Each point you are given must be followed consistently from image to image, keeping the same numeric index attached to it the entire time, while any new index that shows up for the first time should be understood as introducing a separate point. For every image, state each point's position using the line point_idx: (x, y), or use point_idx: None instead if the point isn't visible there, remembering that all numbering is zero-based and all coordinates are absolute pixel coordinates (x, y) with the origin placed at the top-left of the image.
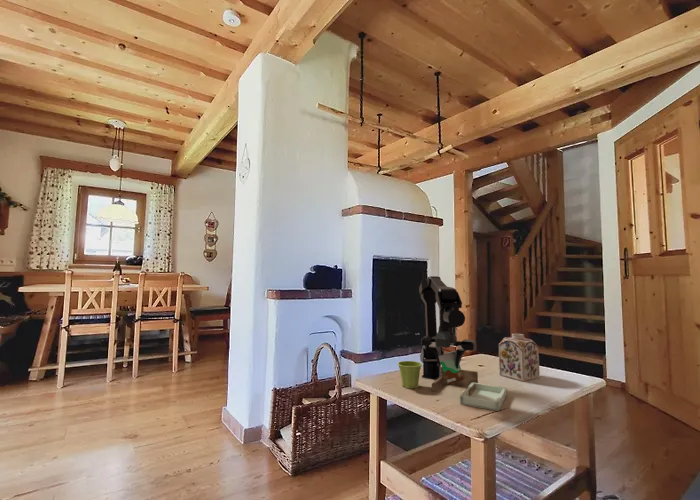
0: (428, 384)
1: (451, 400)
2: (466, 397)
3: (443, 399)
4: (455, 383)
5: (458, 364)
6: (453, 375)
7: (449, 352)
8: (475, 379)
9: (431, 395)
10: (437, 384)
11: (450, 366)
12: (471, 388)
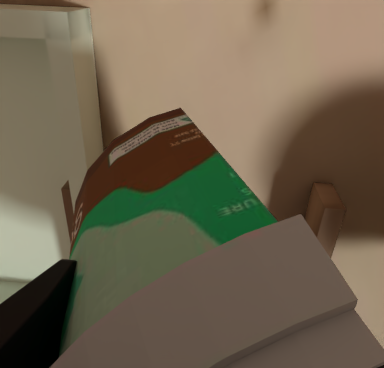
0: (362, 282)
1: (167, 57)
2: (15, 9)
3: (224, 49)
4: None
5: (15, 297)
6: (117, 171)
7: None
8: None
9: (323, 94)
10: None
11: (126, 236)
12: (70, 229)
